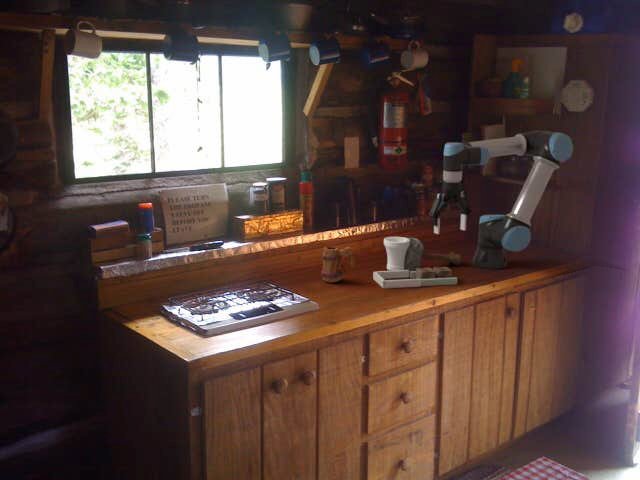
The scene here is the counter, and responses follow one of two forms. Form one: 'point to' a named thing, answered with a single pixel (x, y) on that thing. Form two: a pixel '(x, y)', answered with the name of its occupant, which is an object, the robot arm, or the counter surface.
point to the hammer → (425, 255)
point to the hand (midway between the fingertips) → (450, 231)
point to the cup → (396, 252)
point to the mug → (336, 263)
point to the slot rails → (434, 280)
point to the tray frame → (382, 275)
